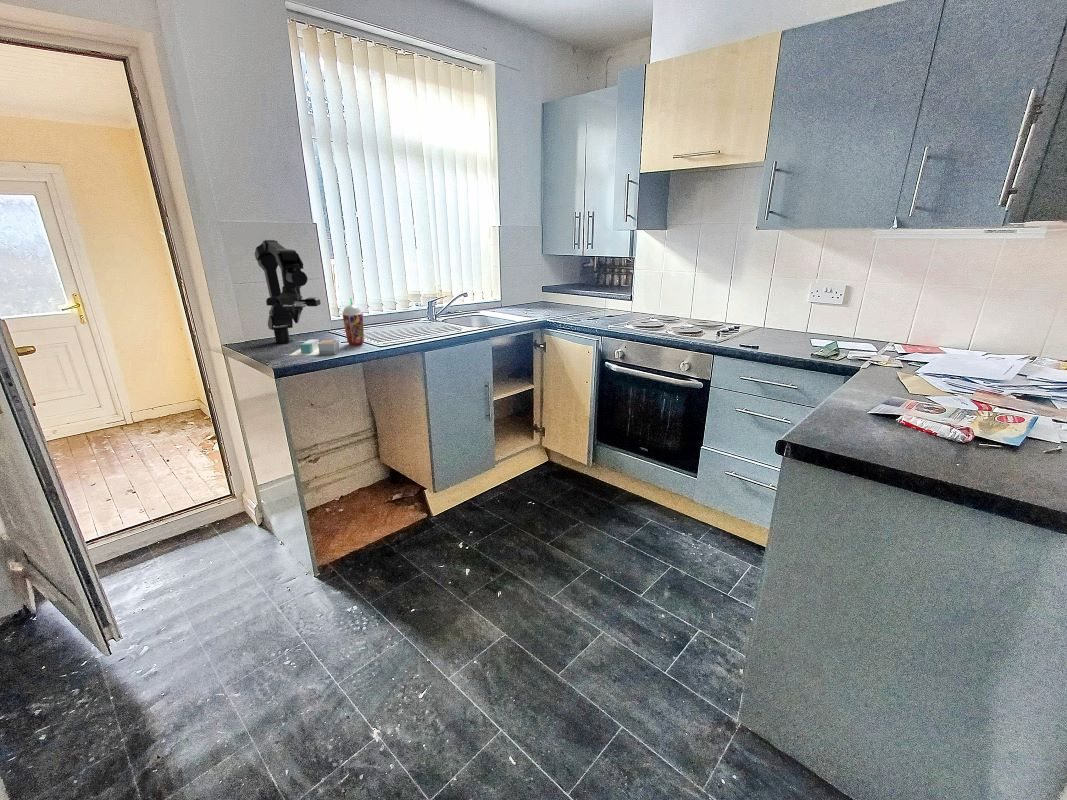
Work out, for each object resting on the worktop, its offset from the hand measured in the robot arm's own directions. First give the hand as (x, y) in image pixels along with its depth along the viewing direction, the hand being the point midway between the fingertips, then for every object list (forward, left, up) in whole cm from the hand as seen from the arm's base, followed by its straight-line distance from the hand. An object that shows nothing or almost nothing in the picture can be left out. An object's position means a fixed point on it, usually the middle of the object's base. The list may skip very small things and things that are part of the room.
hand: (296, 323), depth 188 cm
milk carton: (0, +4, -11) cm, 12 cm away
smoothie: (-12, +19, -12) cm, 25 cm away
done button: (+4, +13, -10) cm, 17 cm away
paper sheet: (0, +4, -11) cm, 12 cm away
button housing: (+4, +13, -11) cm, 18 cm away
